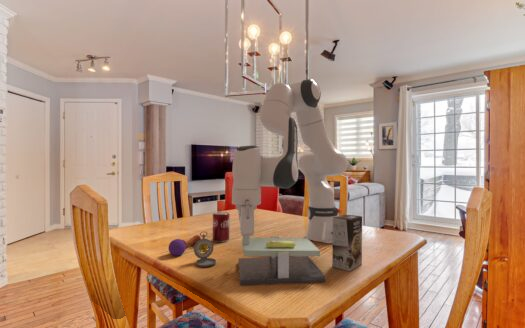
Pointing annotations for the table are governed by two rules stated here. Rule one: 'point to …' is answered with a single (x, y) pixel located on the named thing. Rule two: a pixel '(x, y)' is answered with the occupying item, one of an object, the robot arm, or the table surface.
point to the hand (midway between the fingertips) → (245, 243)
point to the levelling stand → (279, 270)
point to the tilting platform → (280, 247)
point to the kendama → (181, 245)
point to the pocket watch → (201, 246)
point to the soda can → (221, 226)
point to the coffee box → (347, 242)
